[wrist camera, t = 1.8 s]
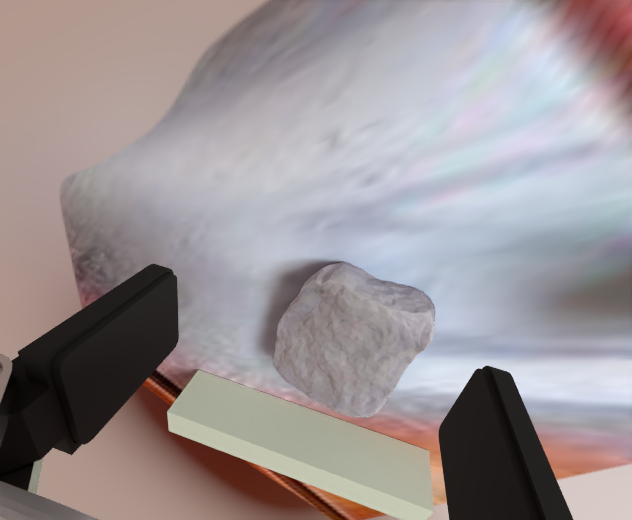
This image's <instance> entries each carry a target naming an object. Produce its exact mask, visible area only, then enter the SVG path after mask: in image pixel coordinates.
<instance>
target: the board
mask: <svg viewBox="0 0 632 520" xmlns="http://www.w3.org/2000/svg"><path fill="white" fill-rule="evenodd" d="M167 414H168V425H169V431H171V432H173V433H176V434H179V435H181V436H184V437H186V438H189V439H192V440H194V441H197V442H200V443H202V444H205V445H207V446H210V447H213V448H215V449H218V450H221V451H223V452H226V453H229V454H231V455H234V456H236V457H239V458H241V459H244V460H247V461H249V462H252V463H254V464H257V465H260V466H262V467H265V468H268V469H270V470H273V471H275V472H278V473H281V474H283V475H286V476H289V477H291V478H294V479H296V480H299V481H302V482H304V483H307V484H309V485H312V486H315V487H317V488H320V489H323V490H325V491H328V492H330V493H333V494H336V495H338V496H341V497H343V498H346V499H349V500H351V501H354V502H357V503H359V504H362V505H364V506H367V507H370V508H372V509H375V510H378V511H380V512H383V513H385V514H388V515H391V516H393V517H396V518H398V519H401V520H427V519H428V518H429V516H430V515H431V514H432V513H433V512H434V509H433V495H432V482H431V469H430V455H429V451H428V450H425V449H423V448H420V447H417V446H414V445H411V444H408V443H406V442H403V441H400V440H397V439H394V438H391V437H388V436H386V435H383V434H380V433H377V432H374V431H371V430H369V429H366V428H363V427H360V426H357V425H354V424H352V423H349V422H346V421H343V420H340V419H337V418H335V417H332V416H329V415H326V414H323V413H320V412H318V411H315V410H312V409H309V408H306V407H303V406H300V405H298V404H295V403H292V402H289V401H286V400H283V399H281V398H278V397H275V396H272V395H269V394H266V393H264V392H261V391H258V390H255V389H252V388H249V387H247V386H244V385H241V384H238V383H235V382H232V381H229V380H227V379H224V378H221V377H218V376H215V375H212V374H210V373H207V372H204V371H201V370H198V371H197V372H196V374H195V375H194V376H193V378H192V379H191V380H190V382H189V383H188V385H187V386H186V387H185V389H184V390H183V391H182V393H181V394H180V395H179V397H178V398H177V399H176V401H175V402H174V403H173V405H172V406H171V408H170V409H169V410H168V412H167Z"/></svg>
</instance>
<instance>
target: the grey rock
mask: <svg viewBox="0 0 632 520" xmlns="http://www.w3.org/2000/svg"><path fill="white" fill-rule="evenodd" d="M434 317H435V307H434V304H433V303H432V301H431V299H430V298H429V297H428V296H427V295H426V294H425V293H424V292H422V291H420V290H418V289H415V288H412V287H408V286H406V285H403V284H397V283H394V282H390V281H382V280H379V279H376V278H375V277H373V276H372V275H370V274H368V273H367V272H366V271H364V270H363V269H361V268H358V267H356V266H353V265H351V264H349V263H346V262H340V263H336V264H331V265H327V266H325V267H323V268H321V269H320V270H319V271H318V272H316V273H315V274H313V275H312V276H311V277H310V278H309V279H308V280H307V281H306V282H305V283H304V285H303V286H302V288H301V291H300V292H299V294H298V295H297V297H296V298H295V299H294V300H293V301H292V302H291V303H290V305H289V307H288V309H287V310H286V311H285V312H284V314H283V316H282V317H281V319H280V321H279V323H278V326H277V339H276V341H275V352H274V357H273V363H274V367H275V369H276V371H278V373H279V374H280V375H281V377H282V378H283V379H284V380H285V381H286V382H288V383H289V384H291V385H293V386H294V387H296V388H297V389H298V390H300V391H301V392H303V393H304V394H306V395H307V396H308V397H309V398H310V399H312V400H313V401H318V402H320V403H322V404H324V405H326V406H327V407H328V408H330V409H331V410H334V411H337V412H339V413H341V414H344V415H347V416H350V417H364V418H368V417H372V416H373V415H374V414H375V413H376V412H378V411H379V410H380V409H381V408H382V406H383V405H384V404H385V402H386V400H387V399H388V398H389V397H390V395H391V393H392V392H393V390H394V389H395V387H396V385H397V383H398V381H399V379H400V378H401V376H402V374H403V372H404V371H405V369H406V368H407V366H408V365H409V364H410V363H411V362H412V361H413V360H414V358H415V357H416V355H417V354H419V353H420V352H422V351H424V350H425V349H426V348H427V347H428V345H429V344H430V342H431V341H432V339H433V335H434V332H435V325H434Z"/></svg>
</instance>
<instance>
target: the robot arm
mask: <svg viewBox="0 0 632 520" xmlns="http://www.w3.org/2000/svg"><path fill="white" fill-rule="evenodd" d="M178 338H179V335H178V297H177V277H176V276H175V275H173V271H172V270H171V269H169V268H166V267H163V266H159V265H156V264H151V265H149V266H147V267H146V268H144V269H143V270H141V271H140V272H138V273H137V274H135V275H134V276H132V277H131V278H129V279H128V280H126V281H125V282H123V283H122V284H120V285H119V286H117V287H115V288H114V289H112V290H111V291H109V292H108V293H106V294H105V295H103V296H102V297H100V298H99V299H97V300H96V301H94V302H93V303H91V304H90V305H88V306H87V307H85V308H84V309H82V310H81V311H79V312H77V313H76V314H74V315H73V316H72V317H70V318H68V319H67V320H65V321H64V322H62V323H61V324H59V325H58V326H56V327H55V328H53V329H52V330H50V331H49V332H47V333H46V334H44V335H43V336H41V337H40V338H38V339H37V340H35V341H33V342H32V343H30V344H29V345H27V346H26V347H25V348H23V349H21V350H20V351H18V354H19V356H18V357H17V358H15V359H14V360H12V361H11V360H10V359H9V358H8V357H6V356H4V355H2V354H0V520H99V519H97V518H94V517H92V516H89V515H87V514H84V513H82V512H79V511H77V510H74V509H72V508H70V507H67V506H64V505H62V504H60V503H57V502H54V501H52V500H49V499H47V498H44V497H42V496H39V495H36V492H37V487H38V481H39V477H40V472H41V467H42V462H43V457H44V456H45V455H46V454H47V453H48V452H49V451H50V450H51V449H52V448H55V449H58V450H60V451H63V452H66V453H68V454H71V455H72V454H73V453H74V452H75V451H76V450H77V448H79V447H80V446H81V445H82V444H86V443H88V442H90V441H91V440H92V439H93V438H94V437H95V436H96V435H97V434H98V433H99V431H100V430H101V429H102V428H103V427H104V426H105V425H106V423H108V421H109V420H110V419H111V418H112V417H113V416H114V415H115V414H116V412H117V411H118V410H119V409H120V408H121V407H122V406H123V405H124V404H125V403H126V402H127V400H128V399H129V398H130V397H131V396H132V395H133V394H134V393H135V392H136V390H137V389H138V388H139V387H140V386H141V385H142V384H143V383H144V382H145V380H146V379H147V378H148V377H149V376H150V375H151V374H152V373H153V372H154V370H155V369H156V368H157V367H158V366H159V365H160V364H161V363H162V362H163V360H164V359H165V358H166V357H167V356H168V355H169V354H170V353H171V352H172V351H173V349H174V348H175V347H176V345H177V342H178ZM439 443H440V451H441V459H442V466H443V474H444V482H445V489H446V497H447V505H448V513H449V520H573V518H572V515H571V513H570V511H569V508H568V506H567V504H566V501H565V499H564V497H563V495H562V492H561V490H560V487H559V485H558V483H557V480H556V478H555V476H554V473H553V471H552V469H551V466H550V464H549V462H548V459H547V457H546V455H545V452H544V450H543V448H542V445H541V443H540V441H539V438H538V436H537V434H536V431H535V429H534V427H533V424H532V422H531V420H530V417H529V415H528V413H527V410H526V408H525V406H524V403H523V401H522V399H521V396H520V394H519V392H518V389H517V387H516V385H515V382H514V380H513V377H512V376H511V374H510V373H509V372H507V371H503V370H500V369H497V368H493V367H490V366H485V367H483V369H477V370H476V371H475V372H474V374H473V375H472V377H471V378H470V380H469V381H468V383H467V384H466V386H465V388H464V389H463V391H462V392H461V394H460V395H459V397H458V399H457V400H456V402H455V403H454V405H453V406H452V408H451V410H450V411H449V413H448V414H447V416H446V417H445V419H444V421H443V422H442V424H441V426H440V429H439Z"/></svg>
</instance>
